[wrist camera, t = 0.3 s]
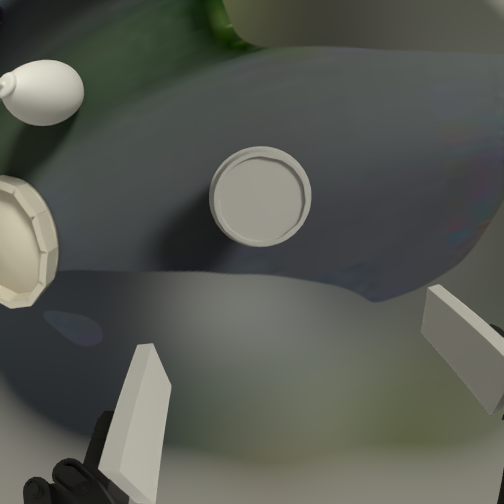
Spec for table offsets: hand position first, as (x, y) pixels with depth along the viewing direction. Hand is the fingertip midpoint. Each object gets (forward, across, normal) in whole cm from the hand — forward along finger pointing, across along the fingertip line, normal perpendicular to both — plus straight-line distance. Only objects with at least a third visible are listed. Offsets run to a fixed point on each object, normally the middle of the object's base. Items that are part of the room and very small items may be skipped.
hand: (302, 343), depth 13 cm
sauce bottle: (+28, -21, +21) cm, 41 cm away
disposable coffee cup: (+28, +1, +3) cm, 28 cm away
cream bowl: (+28, -38, +4) cm, 47 cm away
